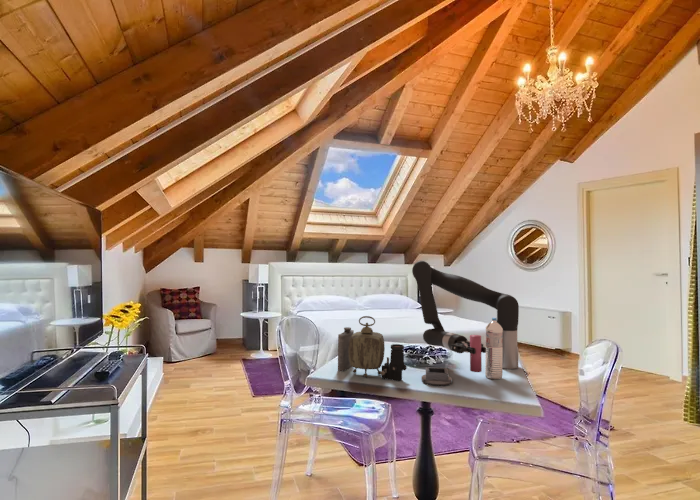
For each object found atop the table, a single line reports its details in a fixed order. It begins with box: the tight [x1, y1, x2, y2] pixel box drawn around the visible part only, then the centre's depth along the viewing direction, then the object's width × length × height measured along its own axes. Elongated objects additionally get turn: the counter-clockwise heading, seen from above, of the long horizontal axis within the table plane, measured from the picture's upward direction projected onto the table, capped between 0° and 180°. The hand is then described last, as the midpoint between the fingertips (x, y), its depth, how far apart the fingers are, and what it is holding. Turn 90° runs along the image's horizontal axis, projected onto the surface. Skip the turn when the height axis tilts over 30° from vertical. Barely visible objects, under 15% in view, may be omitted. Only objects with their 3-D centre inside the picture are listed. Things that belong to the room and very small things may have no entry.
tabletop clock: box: [348, 315, 385, 378], centre depth 176 cm, size 14×9×25 cm, turn 80°
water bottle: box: [484, 317, 504, 380], centre depth 176 cm, size 7×7×25 cm
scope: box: [380, 343, 407, 382], centre depth 172 cm, size 8×14×10 cm
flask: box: [337, 326, 355, 373], centre depth 188 cm, size 4×14×18 cm, turn 160°
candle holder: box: [421, 366, 453, 387], centre depth 169 cm, size 12×12×4 cm
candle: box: [469, 334, 483, 373], centre depth 168 cm, size 4×4×14 cm
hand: (480, 350), depth 166 cm, fingers closed on candle, 4 cm apart
